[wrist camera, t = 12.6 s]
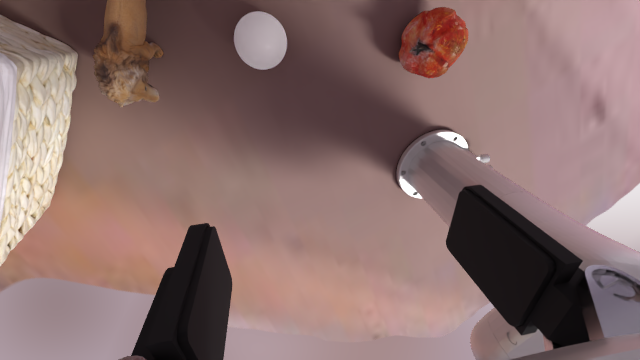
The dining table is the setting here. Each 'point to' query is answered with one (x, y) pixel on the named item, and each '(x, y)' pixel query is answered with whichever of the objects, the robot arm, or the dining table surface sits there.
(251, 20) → the off-white ceramic salt cellar
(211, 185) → the dining table surface
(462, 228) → the robot arm
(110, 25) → the lion figurine
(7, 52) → the storage basket
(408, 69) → the pomegranate
